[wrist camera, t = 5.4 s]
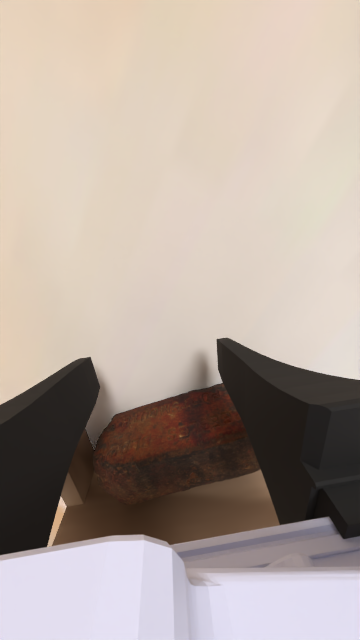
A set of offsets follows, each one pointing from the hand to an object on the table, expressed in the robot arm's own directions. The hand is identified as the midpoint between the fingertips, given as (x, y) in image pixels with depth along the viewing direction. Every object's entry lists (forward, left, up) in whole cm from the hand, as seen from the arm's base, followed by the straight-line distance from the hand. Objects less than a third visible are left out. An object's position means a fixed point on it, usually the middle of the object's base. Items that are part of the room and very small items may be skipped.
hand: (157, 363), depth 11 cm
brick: (-7, -1, -3) cm, 7 cm away
